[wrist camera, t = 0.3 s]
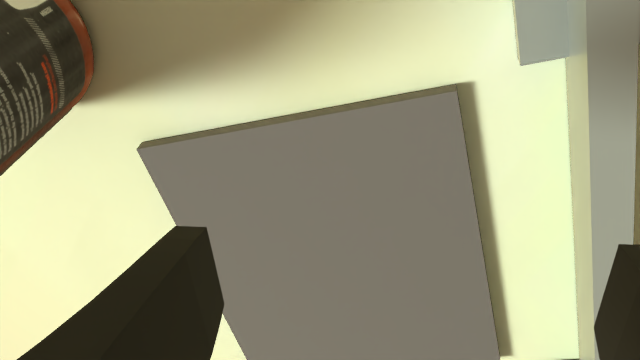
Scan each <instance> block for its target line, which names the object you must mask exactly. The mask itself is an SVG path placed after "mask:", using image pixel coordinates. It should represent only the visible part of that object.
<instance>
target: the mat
mask: <svg viewBox="0 0 640 360" xmlns="http://www.w3.org/2000/svg"><path fill="white" fill-rule="evenodd" d="M137 151H138V153H139V155H140V157H141V159H142V161H143V163H144V164H145V166H146V168H147V170H148V172H149V174H150V176H151V178H152V180H153V182H154V183H155V185H156V187H157V189H158V191H159V193H160V195H161V197H162V199H163V201H164V203H165V204H166V206H167V208H168V210H169V212H170V214H171V216H172V218H173V220H174V222H175V224H176V225H177V226H193V227H207V231H208V235H209V239H210V244H211V248H212V252H213V256H214V261H215V265H216V269H217V274H218V278H219V282H220V287H221V291H222V295H223V299H224V308H223V315H224V317H225V319H226V321H227V323H228V324H229V326H230V328H231V330H232V332H233V334H234V336H235V338H236V340H237V342H238V344H239V345H240V347H241V349H242V351H243V353H244V355H245V357H246V359H247V360H500V355H499V348H498V342H497V336H496V330H495V324H494V317H493V311H492V305H491V299H490V293H489V286H488V280H487V274H486V268H485V261H484V255H483V249H482V243H481V237H480V230H479V224H478V218H477V212H476V206H475V199H474V193H473V187H472V181H471V174H470V168H469V162H468V156H467V150H466V143H465V137H464V131H463V125H462V118H461V112H460V106H459V100H458V94H457V87H456V84H455V85H449V86H444V87H438V88H433V89H428V90H422V91H417V92H411V93H406V94H401V95H395V96H390V97H385V98H379V99H374V100H368V101H363V102H358V103H352V104H347V105H341V106H336V107H331V108H325V109H320V110H315V111H309V112H304V113H298V114H293V115H288V116H282V117H277V118H271V119H266V120H261V121H255V122H250V123H245V124H239V125H234V126H228V127H223V128H218V129H212V130H207V131H201V132H196V133H191V134H185V135H180V136H175V137H169V138H164V139H158V140H153V141H148V142H142V143H141V144H140V146H139V147H138V148H137Z"/></svg>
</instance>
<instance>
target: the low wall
mask: <svg viewBox="0 0 640 360" xmlns="http://www.w3.org/2000/svg"><path fill="white" fill-rule="evenodd" d="M512 2H513V12H514V23H515V34H516V44H517V55H518V60H519V63H520V66H523V65H528V64H533V63H539V62H544V61H549V60H555V59H560V58H565V60H566V81H567V103H568V124H569V145H570V166H571V188H572V209H573V230H574V252H575V273H576V294H577V316H578V337H579V358H580V359H579V360H600V359H599V354H598V348H597V343H596V338H595V332H594V324H595V321H596V317H597V314H598V311H599V308H600V304H601V301H602V298H603V294H604V291H605V288H606V285H607V281H608V278H609V275H610V271H611V268H612V265H613V261H614V258H615V255H616V252H617V248H618V245H619V244H631V245H633V239H634V201H635V162H636V124H637V85H638V47H639V44H640V0H512Z"/></svg>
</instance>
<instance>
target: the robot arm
mask: <svg viewBox="0 0 640 360" xmlns="http://www.w3.org/2000/svg"><path fill="white" fill-rule="evenodd" d="M223 308H224V299H223V295H222V291H221V287H220V282H219V278H218V274H217V269H216V265H215V261H214V256H213V252H212V248H211V244H210V239H209V235H208V231H207V227H193V226H175V227H174V228H173V229H172V230H170V231H169V232H168V233H167V234H166V235H165V236H163V237H162V238H161V239H160V240H159V241H158V242H157V243H156V244H155V245H153V246H152V247H151V248H150V249H149V250H148V251H147V252H146V253H145V254H144V255H142V256H141V257H140V258H139V259H138V260H137V261H136V262H135V263H134V264H132V265H131V266H130V267H129V268H128V269H127V270H126V271H125V272H124V273H122V274H121V275H120V276H119V277H118V278H117V279H116V280H114V281H113V282H112V283H111V284H110V285H109V286H108V287H106V288H105V289H104V290H103V291H102V292H101V293H100V294H99V295H97V296H96V297H95V298H94V299H93V300H92V301H90V302H89V303H88V304H87V305H86V306H84V307H83V308H82V309H81V310H79V311H78V312H77V313H76V314H74V315H73V316H72V317H71V318H69V319H68V320H67V321H66V322H65V323H63V324H62V325H61V326H60V327H58V328H57V329H56V330H55V331H53V332H52V333H51V334H50V335H48V336H47V337H46V338H45V339H43V340H42V341H41V342H40V343H38V344H37V345H36V346H34V347H33V348H32V349H30V350H29V351H28V352H26V353H25V354H24V355H22V356H21V357H20V358H18V359H17V360H210V358H211V355H212V352H213V348H214V344H215V341H216V337H217V333H218V329H219V325H220V321H221V317H222V313H223ZM594 332H595V338H596V343H597V348H598V354H599V359H600V360H640V245H631V244H619V245H618V248H617V252H616V255H615V258H614V261H613V265H612V268H611V271H610V275H609V278H608V281H607V285H606V288H605V291H604V294H603V298H602V301H601V304H600V308H599V311H598V314H597V317H596V321H595V324H594Z"/></svg>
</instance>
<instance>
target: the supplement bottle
mask: <svg viewBox="0 0 640 360" xmlns="http://www.w3.org/2000/svg"><path fill="white" fill-rule="evenodd" d="M93 66H94V56H93V49H92V45H91V41H90V37H89V34H88V31H87V28H86V26H85V24H84V22H83V20H82V19H81V17H80V15H79V13H78V11H77V10H76V8H75V7H74V6H73V4H72V3H71V2H70V0H0V176H1V175H2V174H3V173H4V172H5V171H6V170H7V169H8V168H9V167H10V166H11V165H12V164H13V163H15V162H16V161H17V160H18V159H19V158H20V157H21V156H22V155H23V154H24V153H25V152H26V151H27V150H29V149H30V148H31V147H32V146H33V145H34V144H35V143H36V142H37V141H38V140H39V139H40V138H42V137H43V136H44V135H45V134H46V133H47V132H48V131H49V130H50V129H51V128H52V127H53V126H54V125H55V124H56V123H58V122H59V121H60V120H61V119H62V118H63V117H64V116H65V115H66V114H67V113H68V112H69V111H70V110H71V109H72V107H73V106H74V105H76V104H77V103H78V102H79V101H80V99H81V98H82V97H83V95H84V94H85V92H86V91H87V89H88V87H89V85H90V82H91V79H92V76H93V71H94V67H93Z"/></svg>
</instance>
